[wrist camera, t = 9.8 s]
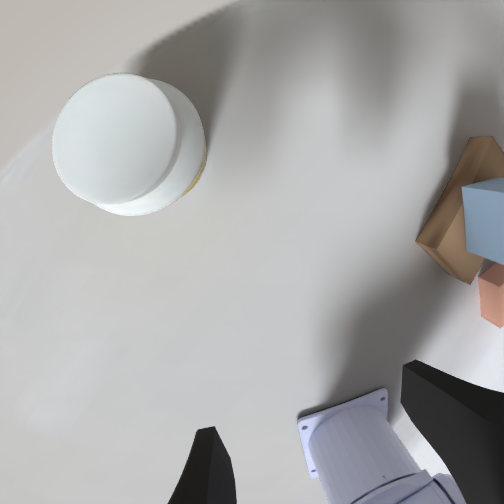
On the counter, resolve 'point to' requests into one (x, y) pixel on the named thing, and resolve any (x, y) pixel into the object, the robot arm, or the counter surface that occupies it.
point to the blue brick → (485, 218)
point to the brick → (492, 294)
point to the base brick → (460, 210)
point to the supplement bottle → (129, 144)
